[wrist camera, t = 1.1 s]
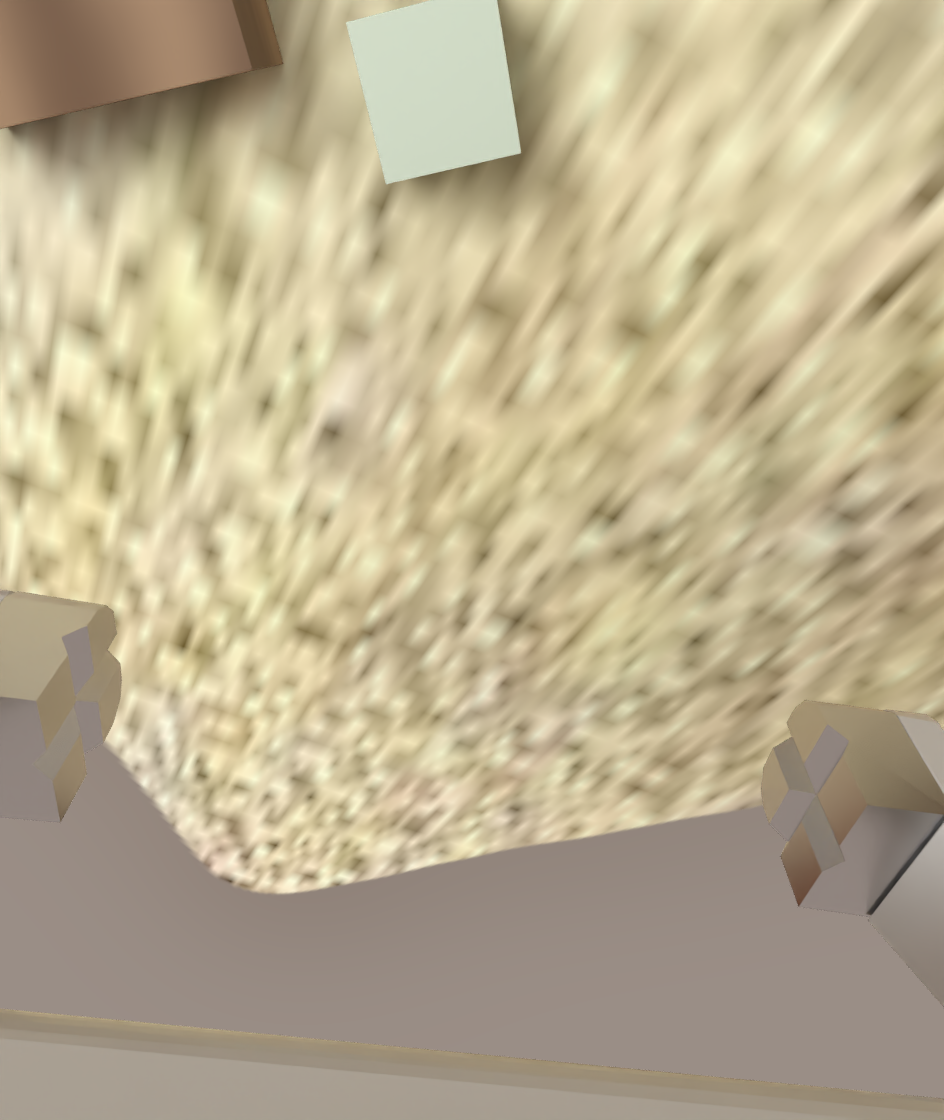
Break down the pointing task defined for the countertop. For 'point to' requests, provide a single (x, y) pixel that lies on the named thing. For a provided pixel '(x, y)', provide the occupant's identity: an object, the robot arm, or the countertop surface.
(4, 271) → the countertop surface
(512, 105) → the sage cube
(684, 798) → the countertop surface
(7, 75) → the walnut block
